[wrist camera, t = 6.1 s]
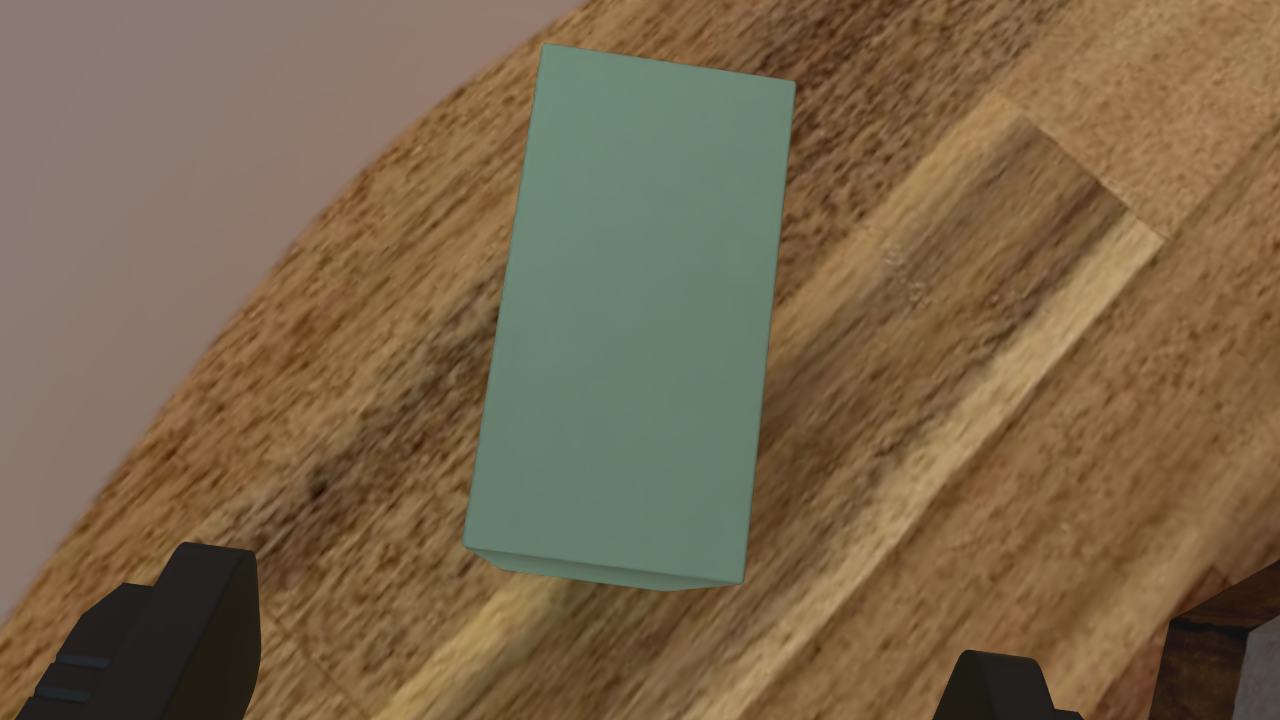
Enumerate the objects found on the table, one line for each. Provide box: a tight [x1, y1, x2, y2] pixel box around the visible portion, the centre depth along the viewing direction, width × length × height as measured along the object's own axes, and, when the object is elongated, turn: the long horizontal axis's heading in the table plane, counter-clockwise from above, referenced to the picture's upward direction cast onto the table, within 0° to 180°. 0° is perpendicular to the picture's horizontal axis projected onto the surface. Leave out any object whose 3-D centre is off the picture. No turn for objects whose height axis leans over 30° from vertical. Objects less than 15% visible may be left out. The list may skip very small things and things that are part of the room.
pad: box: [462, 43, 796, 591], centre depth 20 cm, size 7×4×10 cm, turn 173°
